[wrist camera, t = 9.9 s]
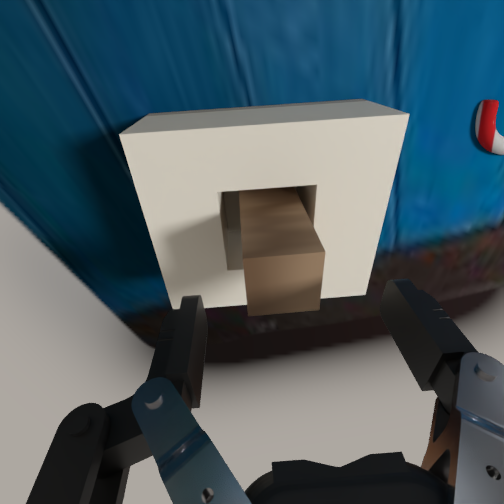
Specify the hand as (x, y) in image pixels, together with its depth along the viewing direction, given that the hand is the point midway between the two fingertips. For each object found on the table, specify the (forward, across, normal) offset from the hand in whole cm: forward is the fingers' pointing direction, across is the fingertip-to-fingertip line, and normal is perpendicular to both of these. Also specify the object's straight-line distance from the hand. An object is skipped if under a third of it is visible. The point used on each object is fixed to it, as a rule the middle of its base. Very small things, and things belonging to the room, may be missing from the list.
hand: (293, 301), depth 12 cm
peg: (+11, 0, 0) cm, 11 cm away
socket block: (+12, +1, 0) cm, 12 cm away
